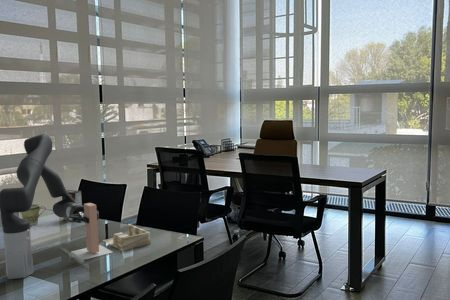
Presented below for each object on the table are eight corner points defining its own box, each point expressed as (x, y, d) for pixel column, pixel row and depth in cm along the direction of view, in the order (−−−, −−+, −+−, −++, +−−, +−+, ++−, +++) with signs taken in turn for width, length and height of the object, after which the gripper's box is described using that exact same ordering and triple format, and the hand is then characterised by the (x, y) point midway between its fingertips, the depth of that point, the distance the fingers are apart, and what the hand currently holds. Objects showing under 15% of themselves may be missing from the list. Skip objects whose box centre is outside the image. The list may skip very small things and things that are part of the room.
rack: (150, 246, 193) (150, 232, 192) (121, 253, 184) (121, 239, 183) (130, 237, 208) (129, 223, 207) (102, 243, 199) (101, 229, 199)
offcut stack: (129, 245, 190) (129, 235, 189) (121, 247, 187) (120, 237, 187) (121, 241, 196) (120, 232, 196) (113, 243, 193) (112, 233, 193)
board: (99, 251, 181) (96, 205, 179) (92, 253, 179) (89, 206, 177) (93, 248, 186) (90, 202, 184) (86, 249, 184) (83, 203, 182)
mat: (113, 255, 182) (113, 252, 182) (83, 263, 174) (83, 259, 174) (100, 248, 193) (99, 244, 193) (71, 254, 185) (70, 251, 185)
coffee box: (62, 219, 246) (60, 192, 245) (69, 217, 253) (67, 190, 251) (76, 220, 244) (74, 192, 242) (83, 217, 250) (81, 190, 249)
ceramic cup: (19, 227, 233) (18, 209, 233) (22, 222, 243) (21, 205, 242) (45, 224, 237) (44, 206, 236) (47, 220, 247) (46, 203, 246)
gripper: (60, 207, 188) (75, 214, 175) (92, 202, 197) (108, 208, 184) (62, 224, 189) (76, 232, 176) (93, 218, 198) (109, 225, 184)
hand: (92, 220), depth 180 cm, fingers closed on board, 3 cm apart
